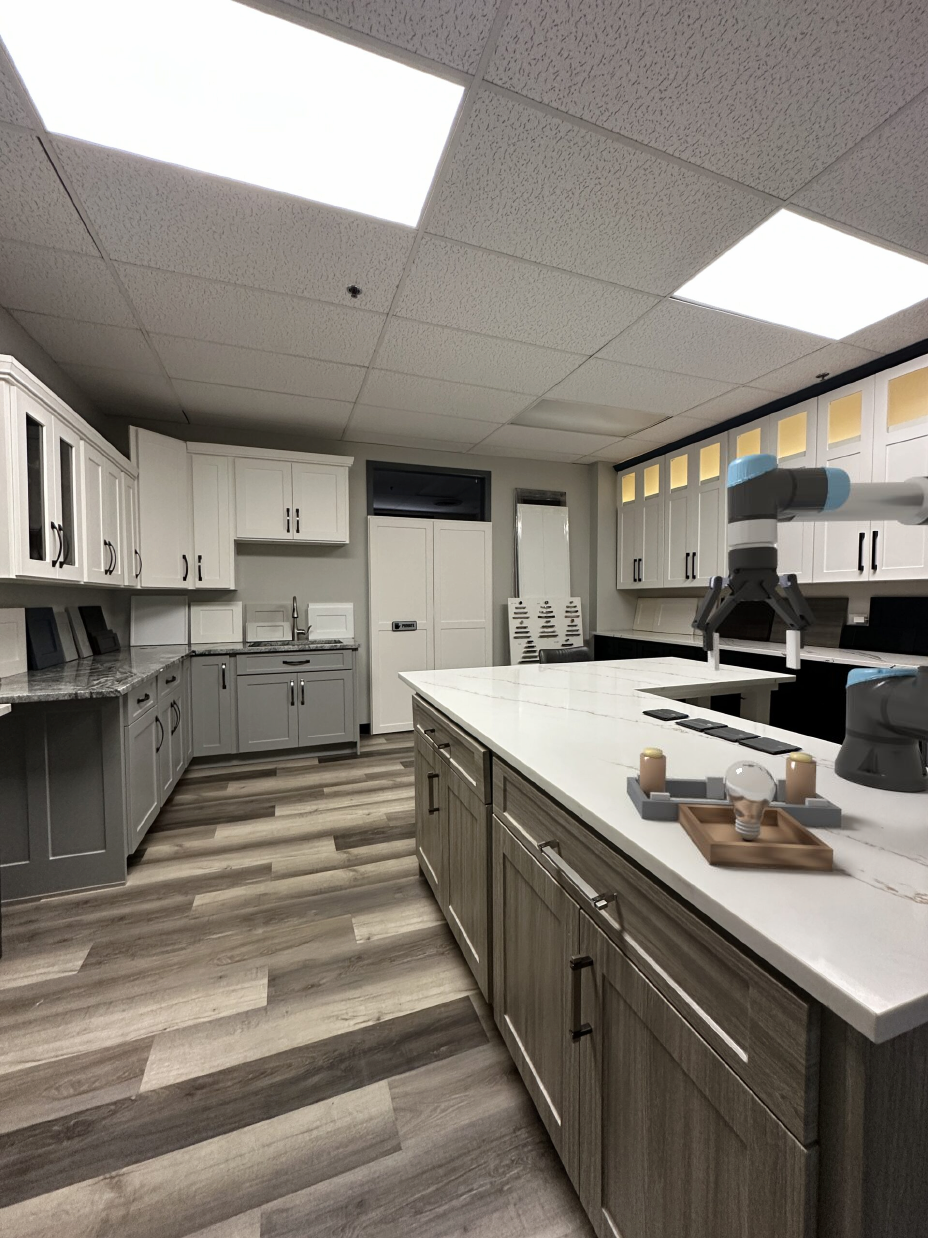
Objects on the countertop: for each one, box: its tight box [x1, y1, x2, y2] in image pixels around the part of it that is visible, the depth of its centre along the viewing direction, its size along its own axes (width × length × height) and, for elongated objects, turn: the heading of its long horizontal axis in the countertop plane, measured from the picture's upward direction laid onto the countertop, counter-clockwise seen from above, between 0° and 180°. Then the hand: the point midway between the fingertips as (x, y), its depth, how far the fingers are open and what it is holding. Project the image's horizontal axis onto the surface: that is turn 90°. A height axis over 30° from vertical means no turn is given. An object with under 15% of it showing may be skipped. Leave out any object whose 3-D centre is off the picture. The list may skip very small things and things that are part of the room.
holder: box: [626, 772, 843, 828], centre depth 90 cm, size 31×12×4 cm, turn 84°
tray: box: [677, 804, 834, 872], centre depth 77 cm, size 16×14×3 cm
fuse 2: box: [784, 751, 817, 805], centre depth 89 cm, size 4×4×10 cm
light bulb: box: [723, 759, 776, 841], centre depth 77 cm, size 7×7×12 cm
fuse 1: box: [639, 747, 667, 799], centre depth 91 cm, size 4×4×10 cm
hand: (753, 669), depth 89 cm, fingers open, 13 cm apart
